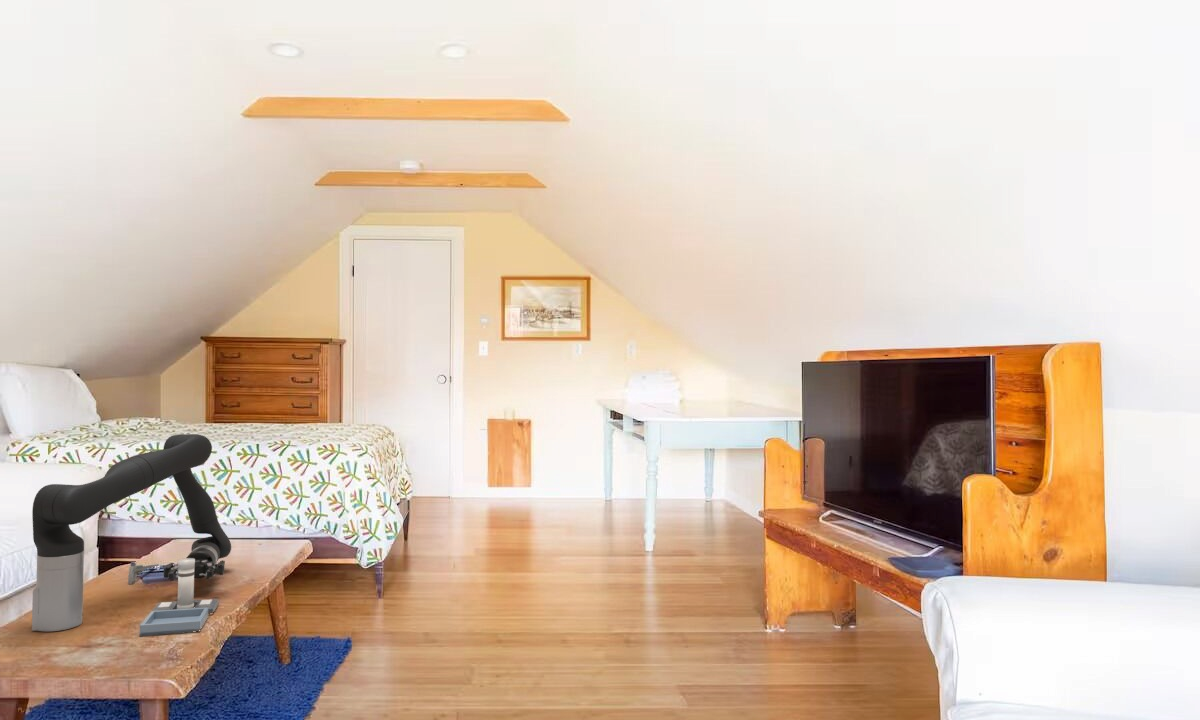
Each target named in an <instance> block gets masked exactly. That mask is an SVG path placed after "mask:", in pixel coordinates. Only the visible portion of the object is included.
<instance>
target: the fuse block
mask: <svg viewBox="0 0 1200 720" xmlns="http://www.w3.org/2000/svg"><path fill="white" fill-rule="evenodd" d="M219 603H220V599H219V598H210V599H209V598H208V599H194V607H195V608H208V614H210V613H213V612H214V611H215V612H216V610H217V609H216V607H217V606H218V607H219V605H220V604H219ZM177 604H178V600H176V601H161V602H160V601H159V602H158V603H156V605H155V606H154V607H153V609H152V610H151V611H161V610H177ZM218 604H219V605H218ZM218 607H217V608H218ZM184 609H192V608H184ZM215 609H216V610H215ZM215 612H214V613H215Z"/></svg>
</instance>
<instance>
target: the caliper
mask: <svg viewBox="0 0 1200 720" xmlns="http://www.w3.org/2000/svg"><path fill="white" fill-rule="evenodd" d="M154 566H160V565H159V563H156V564H154V563H153V564H147V565H143V564H137V562H136V561H132V562H130V565H129V568H128V576H127V577H128V578H127V579H128V583H127V584H128V585H134V584H136V583H135V582H137V576H139V575H142V574H143V572H145V571H144V570H145V569H147V568H150V567H154ZM141 573H142V574H141Z"/></svg>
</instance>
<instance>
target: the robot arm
mask: <svg viewBox="0 0 1200 720" xmlns="http://www.w3.org/2000/svg"><path fill="white" fill-rule="evenodd" d="M212 450H213V446H212V442H211V441H210V439H209V438H208V437H206V436H205V435H202V434H199V433H196V434H195V433H189V434H188V433H186V434H185V433H184V434H183V433H182V434H173V435H171V436H169V437H168V438H167V439H166V440H165V442H164V444H163V449H160V450H152V451H148V452H142V453H139V454H136V455H132V456H130V457H127V458H125V459H122V460H120V461H118V462H116V463H114V464H112V466H110V467H109V468H108V470H107V472H105V474H104V476H103V477H102V478H101V477H100V478H99V479H97V480H93V481H91V482H87V483H84V484H62V483H59V484H58V483H52V484H47V485H45V486H43V487H42V488H40V489H39V490H38V492H37V493H36V495H35V497H34V499H33V503H32V511H31V514H32V519H31V520H32V539H33V544H34V545H35V547H36V582H35V583H36V584H35V585H36V587H34V588H33V589H32V606H31V607H32V610H31V613H32V614H31V631H38V632H59V631H64V630H69V629H73V628H76V627H78V626H81V624H82V623H83V616H84V612H83V609H84V608H83V607H84V605H83V603H84V571H85V569H84V568H85V566H84V565H85V563H84V562H85V561H84V559H85V541H84V538H83V537H81V536H79V535H78V534H76V533H75V532H74V531H73V530H72V529H71V527H70V526H71V525H77V524H80V523H82V522H85V521H86V520H88V519H90V518H91V517H93V516H94V515H96V514H98V513H99V512H101V511H102V510H104V509H105V508H107V507H109V506H110V505H113V504H115V503H117V502H120V501H122V500H124V499H126V498H128V497H130V496H132V495H135V494H138V493H140V492H142V491H143V490H146V489H148V488H150V487H152V486H153V485H156V484H158V483H160V482H162V481H164V480H166V479H168V478H170V477H172V478H173V480H174V481H175V484H176V486H177V488H178V490H179V492H180V495H181V497H182V500H183V501H184V503H185V506H186V507H185V508H186V511H187V514H188V518H189V521H190V526H191V530H192V532H193V533H195V534H200V535H203V534H204V535H211V536H207V537H202V538H198V539H196V540H194V541H193V543H192V544H191V552H189V554H188V555H187V556H186V558H194V559H195V568H194V571H195V572H194V580H195V579H197V580H200V579H203V578H206V580H210V579H211V578H213V577H214V576H216V574H218V575H219V576H222V575H224V574H225V569H226V567H225V566H226V560H220V559H224V558H226V557H228V556H229V555H230V554H231V551H232V543H231V541H230V539H229V536H228V535H227V534H226V532H225V531H224V529H223V528H222V526H221V523H220V522H219V520H218V517H217V512H216V508H215V504H214V502H213V501H214V500H212V497H211V496H210V494H209V493H208V492H207V491H206V489H204V487H203V486H202V485H201V484H200V482H199V481H198V480H197V478H196V477H195V476H194V474H193V471H192V468H196V467H200V466H201V465H203V464H205V463H206V462H207V461H208V460H209V458H210V457H211V454H212V452H213V451H212ZM218 560H220V561H218ZM163 578H164V579H168V580H170V582H173V581H175V580H176V578H178V565H176V564H175V562H170V563H168V564H166V566H165V567H163Z"/></svg>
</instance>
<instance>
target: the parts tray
mask: <svg viewBox="0 0 1200 720" xmlns="http://www.w3.org/2000/svg"><path fill="white" fill-rule="evenodd" d="M207 617H208V618H209V615H208V608H192V609H177V610H161V611H152V610H151V611H150V612H149V614H148V615H147V616H146V617H145V619H144V620H143V621H142V622H141V623H140V625H139V637H148V636H149V637H150V636H163V635H165V634H166V635H174V634H173V633H180V634H184V633H183V632H193V631H199V630H200V629H201V627H202V626H203V624H204V622H205V621H206V619H207ZM207 620H208V619H207ZM206 622H207V621H206ZM206 622H205V623H206ZM204 625H205V624H204ZM203 627H204V626H203ZM201 630H202V629H201ZM166 635H165V636H166Z"/></svg>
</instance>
